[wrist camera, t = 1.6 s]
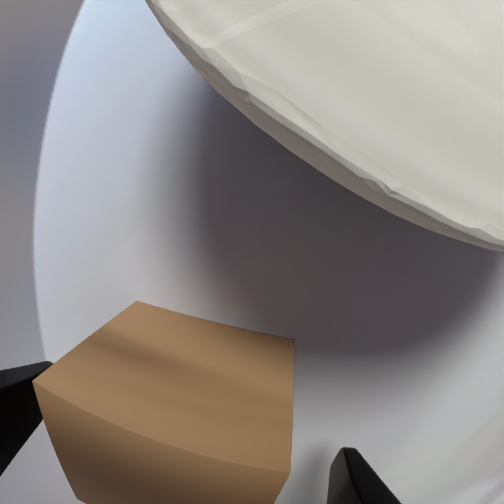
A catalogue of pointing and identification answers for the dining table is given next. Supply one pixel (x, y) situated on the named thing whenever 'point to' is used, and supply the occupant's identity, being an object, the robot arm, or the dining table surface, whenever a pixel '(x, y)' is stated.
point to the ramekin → (369, 95)
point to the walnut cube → (172, 411)
